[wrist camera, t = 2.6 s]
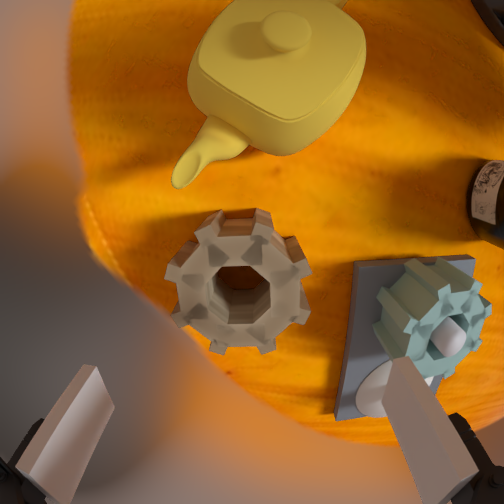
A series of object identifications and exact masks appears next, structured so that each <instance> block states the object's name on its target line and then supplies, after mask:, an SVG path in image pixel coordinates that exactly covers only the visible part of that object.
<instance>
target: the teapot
mask: <svg viewBox="0 0 504 504" xmlns="http://www.w3.org/2000/svg"><path fill="white" fill-rule="evenodd" d="M347 1H348V0H234V1H233V2H231V3H230V4H229V5H228V6H227V7H226V8H225V9H224V10H223V11H222V12H221V13H220V14H219V15H218V16H217V17H216V19H215V20H214V21H213V23H212V24H211V25H210V27H209V28H208V30H207V31H206V33H205V34H204V36H203V37H202V39H201V41H200V43H199V45H198V47H197V49H196V51H195V53H194V55H193V58H192V61H191V63H190V66H189V70H188V76H187V86H188V91H189V94H190V97H191V99H192V101H193V103H194V104H195V105H196V107H197V108H198V109H199V110H200V111H201V112H202V113H204V114H205V115H206V116H207V119H206V121H205V123H204V124H203V126H202V127H201V129H200V131H199V132H198V134H197V136H196V138H195V140H194V141H193V142H192V144H191V145H190V146H189V147H188V148H187V150H186V151H185V152H184V153H183V154H182V156H181V157H180V158H179V160H178V162H177V164H176V165H175V168H174V170H173V173H172V177H171V183H172V186H173V187H174V188H176V189H180V188H183V187H185V186H187V185H188V184H189V183H191V182H192V181H193V180H194V179H195V178H196V177H197V176H198V174H199V173H200V172H201V171H202V169H203V168H204V167H205V166H206V165H207V164H208V163H210V162H212V161H215V160H227V159H231V158H233V157H236V156H237V155H239V154H240V153H241V152H242V151H243V150H244V149H245V148H247V147H248V146H249V145H251V146H253V147H255V148H257V149H259V150H261V151H263V152H265V153H267V154H271V155H275V156H287V155H291V154H294V153H296V152H298V151H301V150H302V149H304V148H305V147H307V146H308V145H310V144H311V143H312V142H314V141H315V140H316V139H318V138H319V137H320V136H321V135H323V134H324V133H325V132H326V131H327V130H328V129H329V128H330V127H331V126H332V125H333V124H334V123H335V122H336V121H337V119H338V118H339V117H340V116H341V115H342V113H343V112H344V111H345V109H346V108H347V106H348V105H349V103H350V101H351V99H352V98H353V96H354V94H355V92H356V89H357V87H358V85H359V82H360V79H361V76H362V73H363V70H364V66H365V61H366V40H365V35H364V32H363V30H362V28H361V26H360V25H359V24H358V23H357V22H356V21H355V20H354V19H353V18H351V17H350V16H349V15H348V14H346V13H345V12H344V11H342V10H341V9H342V8H343V6H344V5H345V4H346V2H347Z"/></svg>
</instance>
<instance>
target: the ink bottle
mask: <svg viewBox="0 0 504 504" xmlns="http://www.w3.org/2000/svg"><path fill="white" fill-rule="evenodd" d="M467 212H468V216H469V220H470V223H471V226H472V228H473V230H474V231H475V233H476V234H477V235H478V236H479V237H480V238H481V239H483V240H485V241H487V242H489V243H491V244H493V245H495V246H497V247H499V248H501V249H504V161H502V160H489V161H486V162H484V163H483V164H481V165H480V166H479V167H478V169H477V170H476V171H475V173H474V175H473V176H472V179H471V181H470V184H469V187H468V192H467Z"/></svg>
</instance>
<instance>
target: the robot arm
mask: <svg viewBox="0 0 504 504" xmlns="http://www.w3.org/2000/svg"><path fill="white" fill-rule="evenodd" d="M471 1H472V3H473V4H474V6H475V8H476V10H477V11H478V13H479V14H480V16H481V18H482V19H483V20H484V22H485V23H486V25H487V26H488V27H489V29H490V30H491V31H492V33H493V34H494V35H495V36H496V38H497V39H498V40H499V41H500V42H501V43H502V45H503V46H504V0H471ZM381 403H382V405H383V407H384V410H385V412H386V414H387V416H388V419H389V421H390V423H391V425H392V428H393V430H394V432H395V435H396V437H397V439H398V442H399V444H400V447H401V449H402V451H403V454H404V456H405V459H406V461H407V464H408V466H409V469H410V471H411V473H412V476H413V479H414V481H415V484H416V486H417V489H418V492H419V494H420V497H421V500H422V503H423V504H447V503H448V502H449V501H450V500H451V502H452V504H504V467H502V466H495V465H494V464H493V463H492V461H491V460H490V458H489V456H488V455H487V453H486V451H485V450H484V448H483V446H482V445H481V443H480V441H479V440H478V439H477V438H476V435H475V433H474V432H473V430H471V427H470V425H469V424H468V422H467V421H466V419H465V418H463V417H462V416H461V415H459V414H458V413H457V412H456V413H454V414H451V415H448V416H447V414H446V413H445V411H444V409H443V408H442V406H441V405H440V403H439V401H438V400H437V398H436V397H435V395H434V394H433V392H432V390H431V389H430V387H429V386H428V384H427V383H426V381H425V380H424V378H423V377H422V375H421V374H420V372H419V371H418V369H417V368H416V366H415V365H414V363H413V362H412V360H411V359H410V358H409V356H406V357H401V358H396V359H393V363H392V367H391V370H390V374H389V378H388V381H387V385H386V388H385V391H384V395H383V398H382V401H381ZM114 408H115V407H114V404H113V402H112V400H111V398H110V396H109V394H108V392H107V390H106V388H105V385H104V383H103V381H102V378H101V376H100V374H99V372H98V369H97V367H96V366H90V365H83V366H82V368H81V369H80V370H79V372H78V373H77V374H76V376H75V377H74V379H73V380H72V381H71V383H70V384H69V385H68V387H67V388H66V390H65V391H64V392H63V394H62V395H61V397H60V398H59V400H58V401H57V402H56V404H55V406H54V407H53V408H52V410H51V411H50V413H49V414H48V416H47V417H46V419H42V418H41V419H40V420H38V421H37V422H36V423H35V424H33V425H32V427H31V428H30V430H29V431H28V434H26V436H25V438H24V440H23V441H22V442H21V444H20V445H19V447H18V448H17V450H16V451H15V453H14V454H13V456H12V458H11V459H10V461H9V462H8V463H7V464H6V463H5V462H4V461H3V459H2V458H1V457H0V504H47V503H46V501H45V500H44V499H45V497H47V498H49V499H50V500H51V501H52V502H53V503H55V504H70V502H71V500H72V497H73V495H74V493H75V491H76V488H77V486H78V484H79V481H80V479H81V477H82V475H83V473H84V470H85V468H86V466H87V464H88V462H89V460H90V457H91V455H92V453H93V451H94V449H95V447H96V445H97V443H98V441H99V438H100V436H101V434H102V432H103V430H104V428H105V426H106V424H107V422H108V420H109V418H110V416H111V414H112V412H113V410H114Z"/></svg>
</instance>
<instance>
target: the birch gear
mask: <svg viewBox="0 0 504 504" xmlns="http://www.w3.org/2000/svg"><path fill="white" fill-rule="evenodd" d="M194 234H195V235H196V237H197V239H198V241H199V243H198V244H197V243H194V242H191V241H187V242H186V243H185V244H184V245H183V247H182V248H181V249H180V250H179V251H178V252H177V254H176V255H175V256H174V257H173V258H172V259H171V261H170V262H169V263H168V266H167V269H166V273H165V277H164V279H166V280H169V281H171V282H174V283H176V286H177V292H178V298H179V301H178V302H177V304H176V306H175V308H174V310H173V312H172V313H171V317H172V318H173V320H174V321H175V323H176V325H177V326H178V328H181V327H184V326H186V325H190V326H192V327H193V328H194V329H196V330H197V331H198V332H200V333H201V334H202V335H204V336H205V337H206V338H208V339H209V340H210V341H211V344H210V348H209V351H212V352H215V353H218V354H221V355H224V354H225V352H226V349H227V347H244V346H257V348H258V349H259V351H260V353H261V354H265V353H268V352H271V351H273V350H276V341H275V337H276V336H277V335H279V334H280V333H281V332H282V331H283V330H284V329H285V328H287V327H288V326H289V325H290V324H291V323H292V322H295V323H298V324H301V325H305V323H306V321H307V319H308V317H309V315H310V313H311V310H310V307H309V304H308V301H307V298H306V295H305V292H304V289H303V286H302V283H301V280H300V279H302V278H304V277H306V276H308V275H311V274H312V271H311V269H310V267H309V264H308V262H307V259H306V257H305V255H304V253H303V251H302V249H301V247H300V245H299V243H298V241H297V239H296V237H295V236H293V237H291V238H289V239H286V240H285V239H283V238H282V237H281V236H280V235H279V234H278V233H277V232H276V231H275V230H274V227H273V223H272V219H271V215H270V213H269V212H266V211H264V210H261V209H258V208H256V210H255V213H254V216H253V218H241V219H226V217H225V215H224V213H223V211H222V210H220V211H218V212H216V213H214V214H211V215H209V216H208V217H207V218H206V220H205V221H204V222H203V223H202V224H201V225H200V226H199V227H198V228H197V230H196V231H195V232H194ZM223 266H251V267H252V268H253V269H254V270H256V271H257V272H258V273H259V274H260V275H261V276H263V277H264V278H265V279H264V280H263V281H262V282H261V283H260V284H259V285H258V286H257V287H256V288H255V289H239V290H234V289H232V288H231V287H230V286H229V285H227V284H226V283H225V282H224V281H223V280H221V279H220V278H219V277H218V270H219V269H220V268H221V267H223Z"/></svg>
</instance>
